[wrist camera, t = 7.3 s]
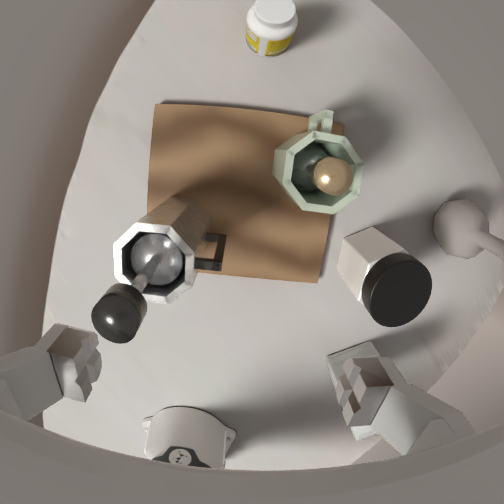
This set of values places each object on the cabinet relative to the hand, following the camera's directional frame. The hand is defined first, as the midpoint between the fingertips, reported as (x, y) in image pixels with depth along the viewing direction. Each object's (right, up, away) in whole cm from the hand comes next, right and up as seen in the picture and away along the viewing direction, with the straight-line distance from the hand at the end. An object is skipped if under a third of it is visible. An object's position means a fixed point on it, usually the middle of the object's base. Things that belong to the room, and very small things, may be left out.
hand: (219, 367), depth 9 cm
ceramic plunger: (+7, +13, +23) cm, 27 cm away
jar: (+17, +3, +32) cm, 36 cm away
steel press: (-7, +7, +28) cm, 30 cm away
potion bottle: (+31, +8, +31) cm, 45 cm away
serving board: (0, +11, +28) cm, 30 cm away
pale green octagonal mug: (+7, +15, +26) cm, 31 cm away
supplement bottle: (+3, +30, +22) cm, 37 cm away
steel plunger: (-8, +3, +18) cm, 20 cm away
